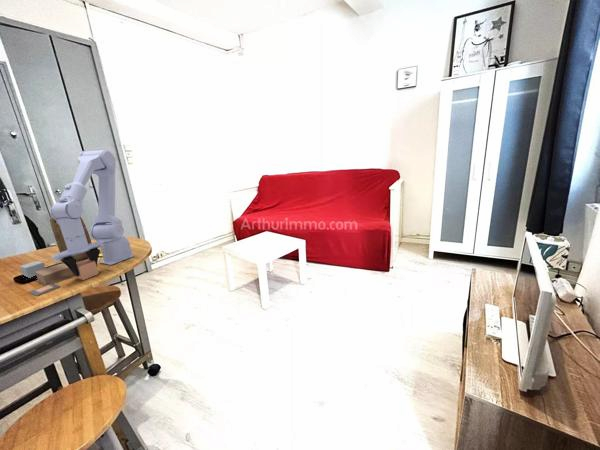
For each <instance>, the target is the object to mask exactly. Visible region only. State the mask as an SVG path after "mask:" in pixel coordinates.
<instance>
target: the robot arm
mask: <svg viewBox="0 0 600 450" xmlns="http://www.w3.org/2000/svg"><path fill="white" fill-rule="evenodd" d="M77 161H78V163H79V164H78V166H77V170H76V172H75V175H74V178H73V180H72V182H69V183H67V184H64V185H65V186H64V190H63V191H62V193H61V196H60V198H59V199H58V201H57V202H55V203H53V204H52V206H51V207H50V212H49V215H50V217H53V218H54V219H55V220H56V222H57V224H58V225H60V228H61V231H62V234H63V237H64V240H65V243H66V246H67V249H68V250H66V251H63V252H61V253H60V252H59V253H56V254H53V255H51V259H52V261H53V262H60V261H61V262H62V263H64V264H66V265H67V266H68V267H69V268H70V270H71V271H72V272H73V274H74V275H75V276H80V274H79V271H78V268H77V264H76V263H77V261H76V259H74V258H73V257H72V256H74V255H77V254H80V253H83V252H86V254H87V256H88V258H87V259H88V260H92V261H95V263H96V266H97V267H98V261H99V255H100V253H101V255H102V258H103V260H100V261H99V263H101V264H104V265H109V266H112V265H115V264H117V263H120V262H123V261H125V260H127V259H131V258H133V257H134V254H133V251H132V247H131V243H130V241H129V239H128V237H126V236H124V233H125V232H124V227H123V221H122V220H121V219H120V218H119V217H117V216H116V161H117V159H116V157H115V156H114V154H113V153H112V151H110V150H109V149H100V150H83V151H81V152H80V153H79V155H78V157H77ZM92 175H96V176H97V177H98V201H97V204H98V207H97V209H98V210H97V211H98V212H97V213H98V214H97V216H96V217H95V218H94V219H93V220H92V225H91V228H90V231H89V233H90V234H89V235H90V236H91V237H90V238H92V239H93V240H94V241H95V240H96V242H92V243H91V244H88V242H87V238H86V235H85V232H84V229H83V226H82V222H81V219H80V217H81V216H82V215H83V213H84V210H83V202H84V199H85V197H86V194H87V191H88V189H87V187H86V185H87V183H88V181H89V180H90V178H91V177H92ZM75 276H74V277H75Z"/></svg>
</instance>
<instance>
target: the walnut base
mask: <svg viewBox="0 0 600 450" xmlns="http://www.w3.org/2000/svg"><path fill="white" fill-rule="evenodd" d="M35 274H36V276H37V278H36V279H37V281H38V282H39V283H41V284H43V286H45V285H48V284H51V283H52V284H56V283H59V282H62V281H64V280H67V279H70V278H72V277H75V275H74V274H73V272H72V271H71V270H70V268H69V267H68V266H67V265H66V264H64V263H63V262H62V263H58V264H56V265H52V266H49V267H45V269H42V270H39V271H36V272H35Z"/></svg>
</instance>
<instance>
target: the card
mask: <svg viewBox="0 0 600 450" xmlns="http://www.w3.org/2000/svg"><path fill="white" fill-rule="evenodd" d="M60 288H61V285H58V284H56V283H54V284H52V283H51V284H48V285H43V286H40V287H38V288H34V289H32V290H30V291H28V294H31V295H33V296H35V297H40V296H41V295H44V294H47V293H50V292H51V291H55V290H57V289H60Z"/></svg>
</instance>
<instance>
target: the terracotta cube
mask: <svg viewBox="0 0 600 450" xmlns="http://www.w3.org/2000/svg"><path fill="white" fill-rule="evenodd" d="M76 264H77V268H78V271H79V274H80V276H74V277H75V279H78V280H82V281H85V280H87V279H90V278H92V277H95V276H97V275H99V274H100V273H99V270H98V265H97V266H96V263H95V261H92V260H89V259H84V260H81V261H78V262H76Z"/></svg>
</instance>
